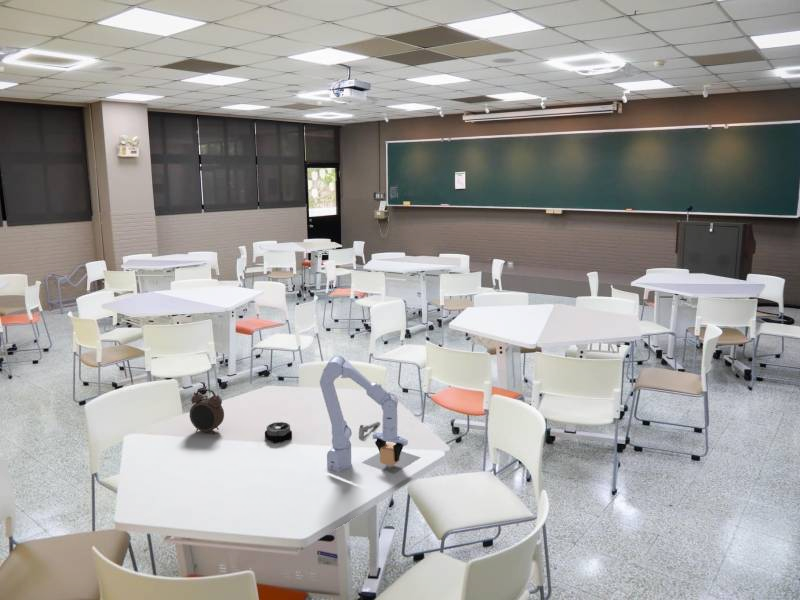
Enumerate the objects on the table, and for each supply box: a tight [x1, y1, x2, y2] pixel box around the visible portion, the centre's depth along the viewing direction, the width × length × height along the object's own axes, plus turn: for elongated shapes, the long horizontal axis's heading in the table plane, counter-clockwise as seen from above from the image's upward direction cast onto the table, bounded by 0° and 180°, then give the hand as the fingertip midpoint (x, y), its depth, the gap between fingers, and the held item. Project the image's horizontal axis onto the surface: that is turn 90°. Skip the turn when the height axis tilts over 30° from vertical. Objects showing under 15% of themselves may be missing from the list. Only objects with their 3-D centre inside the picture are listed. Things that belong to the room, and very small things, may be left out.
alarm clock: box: [189, 388, 225, 435], centre depth 272 cm, size 14×7×20 cm, turn 76°
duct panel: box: [361, 451, 421, 475], centre depth 244 cm, size 18×16×5 cm
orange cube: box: [379, 442, 400, 466], centre depth 238 cm, size 6×6×6 cm
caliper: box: [358, 421, 381, 439], centre depth 275 cm, size 21×1×6 cm, turn 158°
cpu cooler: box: [264, 421, 293, 444], centre depth 267 cm, size 10×6×10 cm
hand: (389, 459), depth 238 cm, fingers closed on orange cube, 6 cm apart
